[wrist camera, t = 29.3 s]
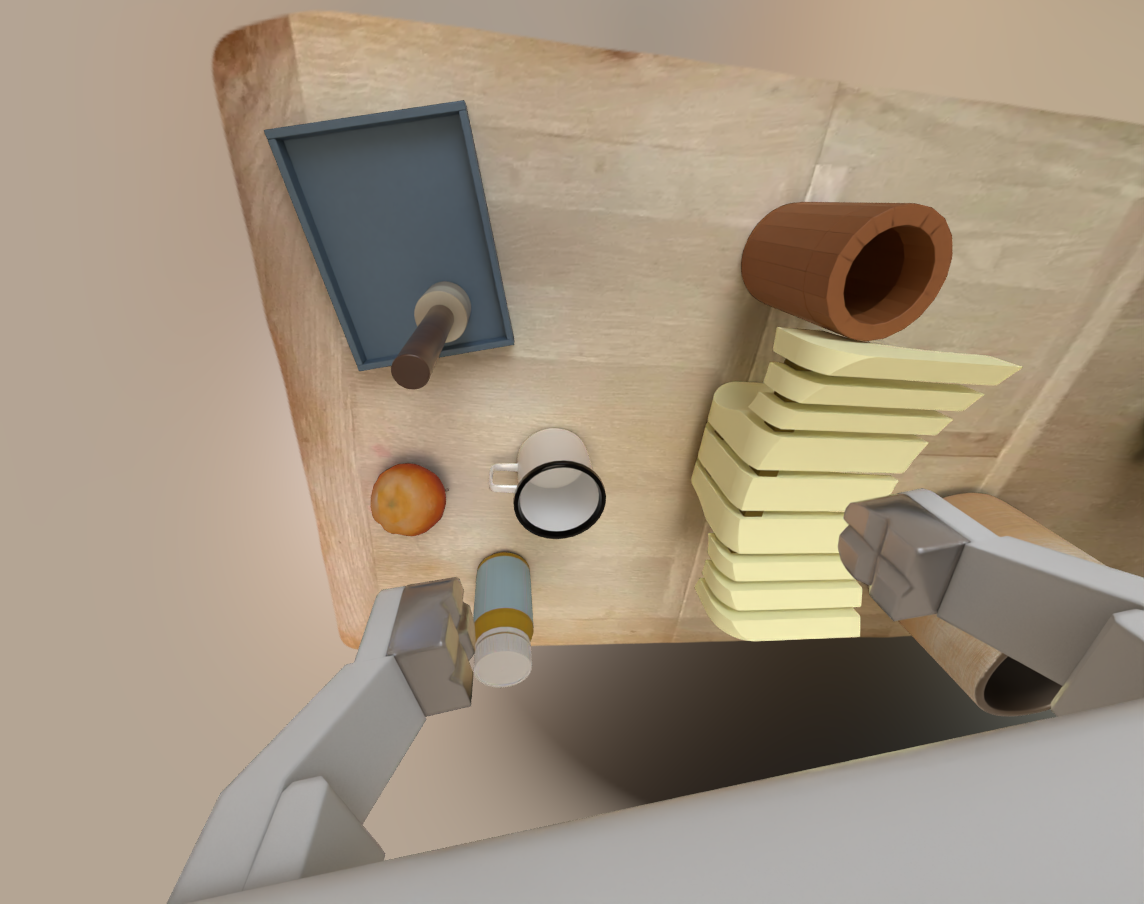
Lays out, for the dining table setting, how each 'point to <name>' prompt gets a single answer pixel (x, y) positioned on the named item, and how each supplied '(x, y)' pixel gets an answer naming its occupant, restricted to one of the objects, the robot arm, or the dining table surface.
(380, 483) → the fruit
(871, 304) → the terracotta utensil crock
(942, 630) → the planter
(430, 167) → the tray
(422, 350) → the bottle brush
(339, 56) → the dining table surface
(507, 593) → the bottle
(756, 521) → the slatted curved stool
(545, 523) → the mug
